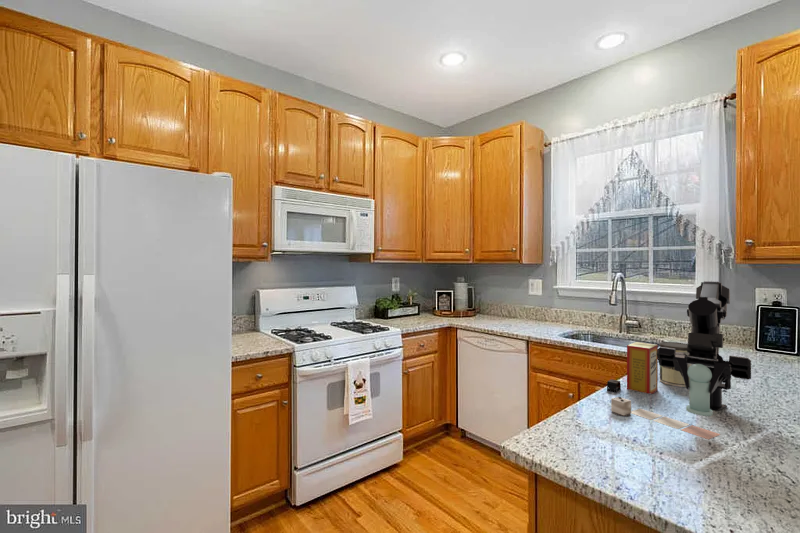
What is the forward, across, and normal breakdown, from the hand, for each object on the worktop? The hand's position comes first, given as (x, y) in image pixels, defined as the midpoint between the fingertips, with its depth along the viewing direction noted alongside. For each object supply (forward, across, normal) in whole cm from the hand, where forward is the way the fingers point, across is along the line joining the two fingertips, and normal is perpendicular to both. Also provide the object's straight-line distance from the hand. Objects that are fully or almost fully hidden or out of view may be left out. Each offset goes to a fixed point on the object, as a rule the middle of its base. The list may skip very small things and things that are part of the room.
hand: (698, 390), depth 93 cm
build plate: (-7, -24, +24) cm, 35 cm away
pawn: (+3, 0, +5) cm, 6 cm away
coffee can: (-28, -11, +45) cm, 54 cm away
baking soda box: (-14, -18, +31) cm, 38 cm away
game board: (+4, -6, +12) cm, 14 cm away
